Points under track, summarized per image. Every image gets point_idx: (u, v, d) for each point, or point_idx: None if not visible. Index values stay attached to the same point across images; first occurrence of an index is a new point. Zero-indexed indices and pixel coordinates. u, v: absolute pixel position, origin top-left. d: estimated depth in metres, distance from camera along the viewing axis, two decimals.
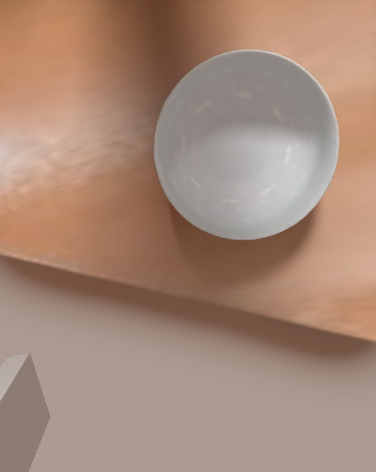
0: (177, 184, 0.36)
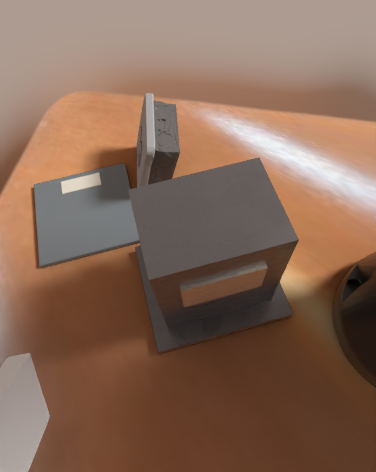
0: None
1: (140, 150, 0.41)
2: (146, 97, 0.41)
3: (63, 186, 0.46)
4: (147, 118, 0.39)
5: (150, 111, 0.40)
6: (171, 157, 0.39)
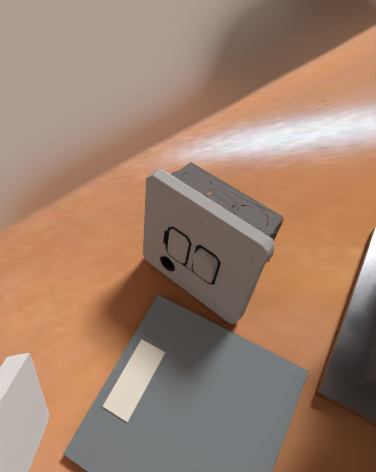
0: None
1: (213, 259, 0.23)
2: (160, 180, 0.23)
3: (115, 409, 0.24)
4: (204, 206, 0.21)
5: (194, 194, 0.22)
6: (273, 233, 0.23)
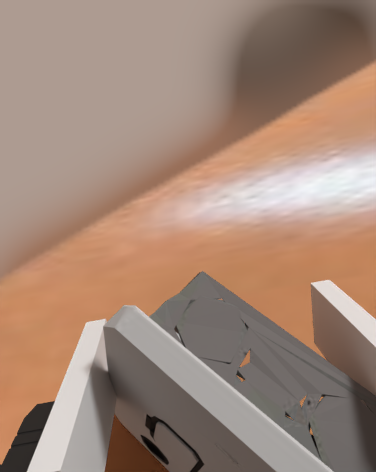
0: None
1: None
2: (132, 341, 0.10)
3: None
4: (241, 433, 0.08)
5: (214, 390, 0.09)
6: None
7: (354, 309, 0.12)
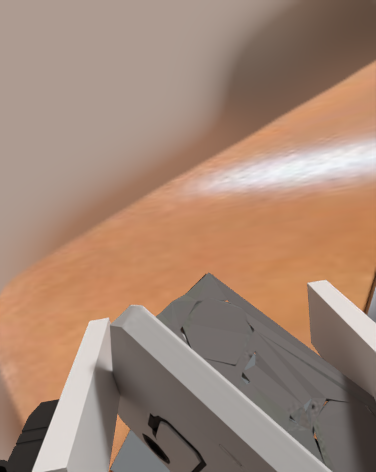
0: None
1: None
2: (139, 341, 0.10)
3: None
4: (245, 435, 0.08)
5: (220, 392, 0.09)
6: None
7: (350, 309, 0.12)
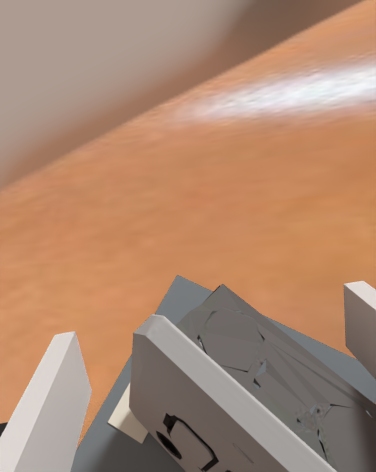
0: None
1: None
2: (161, 348, 0.11)
3: (124, 426, 0.18)
4: (258, 436, 0.09)
5: (235, 396, 0.10)
6: None
7: None
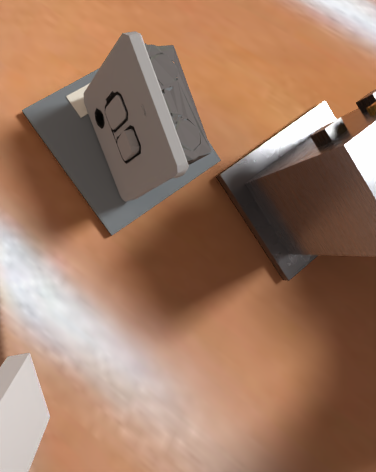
0: None
1: (136, 146, 0.25)
2: (133, 46, 0.22)
3: (75, 104, 0.29)
4: (155, 100, 0.22)
5: (154, 83, 0.22)
6: (196, 158, 0.25)
7: None
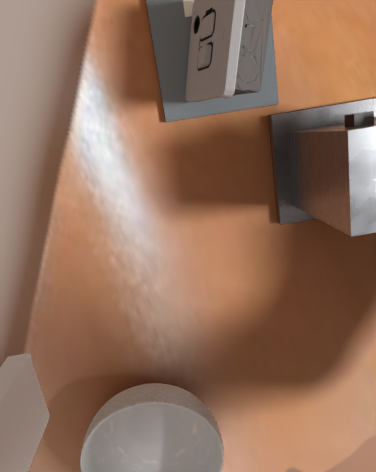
0: None
1: (208, 60, 0.31)
2: None
3: (185, 3, 0.35)
4: (233, 31, 0.27)
5: (239, 16, 0.27)
6: (247, 90, 0.31)
7: None
